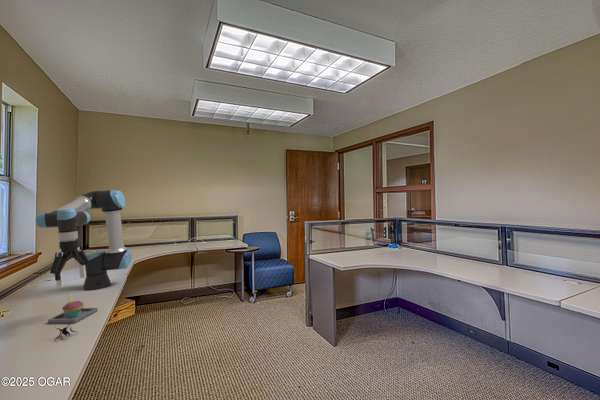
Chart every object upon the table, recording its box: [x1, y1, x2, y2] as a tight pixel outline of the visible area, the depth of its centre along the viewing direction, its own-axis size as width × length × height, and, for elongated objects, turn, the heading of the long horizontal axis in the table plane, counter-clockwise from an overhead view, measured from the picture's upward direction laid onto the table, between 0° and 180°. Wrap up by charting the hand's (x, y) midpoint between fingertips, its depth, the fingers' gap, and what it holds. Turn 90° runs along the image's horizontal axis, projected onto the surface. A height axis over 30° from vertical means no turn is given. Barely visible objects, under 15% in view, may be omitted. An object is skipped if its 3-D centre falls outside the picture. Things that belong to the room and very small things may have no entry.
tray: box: [47, 307, 99, 324], centre depth 147 cm, size 14×14×2 cm
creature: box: [54, 322, 79, 343], centre depth 126 cm, size 8×5×8 cm
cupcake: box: [62, 292, 85, 318], centre depth 147 cm, size 9×8×12 cm
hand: (72, 281), depth 147 cm, fingers open, 13 cm apart
